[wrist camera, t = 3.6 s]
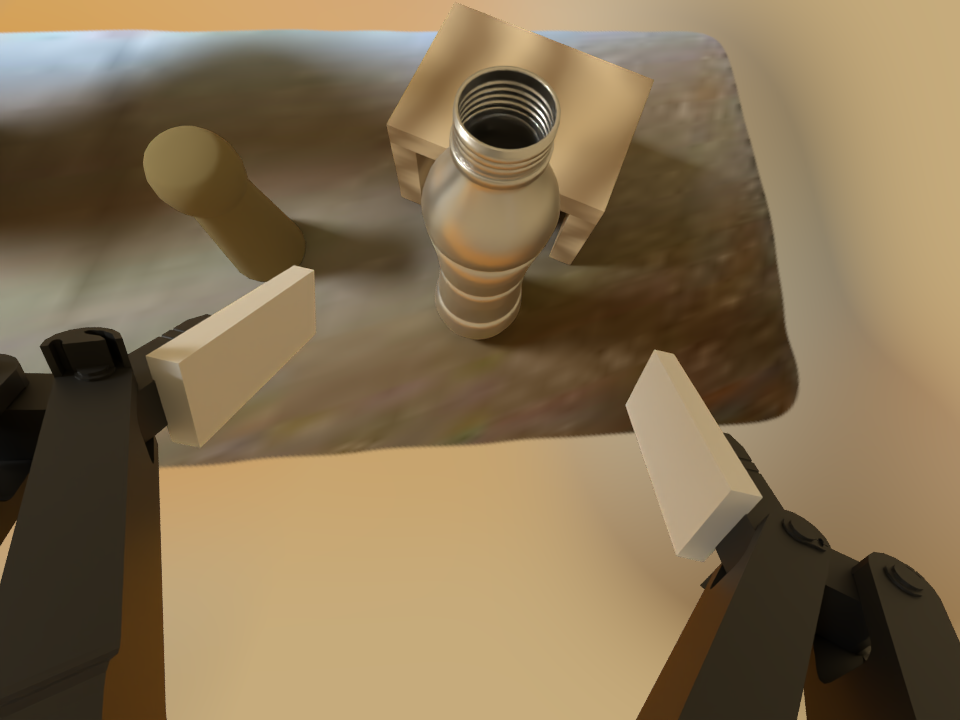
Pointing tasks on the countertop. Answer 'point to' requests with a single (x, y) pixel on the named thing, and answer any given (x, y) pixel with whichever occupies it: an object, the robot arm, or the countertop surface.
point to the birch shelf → (583, 121)
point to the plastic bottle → (492, 197)
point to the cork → (223, 200)
